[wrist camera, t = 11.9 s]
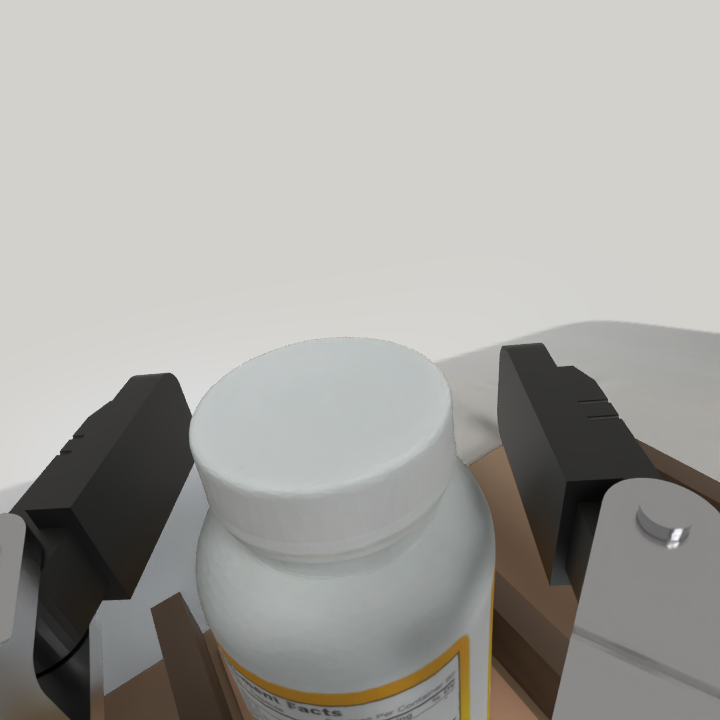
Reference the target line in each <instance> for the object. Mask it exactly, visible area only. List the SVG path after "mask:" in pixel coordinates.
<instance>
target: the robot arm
mask: <svg viewBox="0 0 720 720" xmlns="http://www.w3.org/2000/svg"><path fill="white" fill-rule="evenodd" d="M618 415H619V414H618V413H617V412H616V410H615V409H614V407H613V406H612V404H611V403H608V399H607V397H606V396H605V394H604V393H603V391H602V390H601V388H600V387H599V386H598V384H597V383H596V381H595V380H594V379H592V378H591V377H589V376H588V375H586V374H584V373H583V372H581V371H580V370H578V369H577V368H575V367H574V366H564V367H557V366H556V364H555V362H554V361H553V359H552V357H551V356H550V354H549V352H548V351H547V349H546V347H545V346H544V344H542V343H533V344H521V345H508V346H502V348H501V351H500V361H499V383H498V404H497V416H498V426H499V432H500V436H501V440H502V443H503V446H504V449H505V452H506V455H507V458H508V461H509V464H510V467H511V470H512V473H513V476H514V479H515V482H516V485H517V488H518V491H519V494H520V497H521V500H522V504H523V507H524V510H525V513H526V516H527V519H528V522H529V525H530V528H531V531H532V534H533V537H534V540H535V543H536V546H537V549H538V552H539V555H540V558H541V561H542V564H543V567H544V570H545V573H546V576H547V579H548V582H549V585H550V586H558V585H571V586H572V589H573V591H574V594H575V597H576V599H577V602H578V609H577V613H576V618H575V622H574V626H573V630H572V634H571V638H570V643H569V647H568V651H567V656H566V660H565V664H564V669H563V673H562V677H561V682H560V686H559V690H558V695H557V699H556V703H555V707H554V712H553V716H552V720H720V513H719V512H718V511H717V510H716V509H715V508H714V507H713V506H712V505H711V504H710V503H709V502H707V501H706V500H705V499H703V498H702V497H700V496H699V495H697V494H695V493H694V492H692V491H690V490H688V489H686V488H684V487H681V486H679V485H677V484H674V483H671V482H667V481H664V479H663V478H662V477H661V475H660V474H659V472H658V471H657V469H656V468H655V466H654V465H653V464H652V462H651V461H650V459H649V458H648V456H647V455H646V453H645V452H644V451H643V449H642V448H641V446H640V445H639V443H638V442H637V440H636V439H635V438H634V436H633V435H632V433H631V432H630V430H629V429H628V427H627V426H626V425H625V423H624V422H623V420H622V419H619V416H618ZM191 419H192V415H191V412H190V410H189V407H188V405H187V402H186V399H185V397H184V394H183V392H182V389H181V386H180V384H179V382H178V380H177V378H176V377H175V376H174V375H173V374H171V373H161V374H148V375H136V376H133V377H131V378H130V379H129V380H128V382H127V383H126V384H125V385H124V387H123V388H122V389H121V390H120V392H119V393H118V394H117V396H116V397H115V398H114V399H113V400H112V401H110V402H109V403H107V404H106V405H104V406H103V407H102V408H100V409H99V410H98V411H96V412H95V413H93V414H92V415H91V416H89V417H88V418H87V420H86V421H85V422H84V423H83V424H82V425H81V427H80V428H79V429H78V430H77V431H76V433H75V434H74V435H73V439H72V440H69V441H68V442H67V443H66V445H65V446H64V447H63V448H62V449H61V451H60V455H57V456H56V457H55V458H54V459H53V460H52V461H51V463H50V464H49V465H48V466H47V467H46V469H45V470H44V471H43V472H42V473H41V475H40V476H39V477H38V478H37V479H36V481H35V482H34V483H33V484H32V485H31V487H30V488H29V489H28V490H27V492H26V493H25V494H24V495H23V496H22V498H21V499H20V500H19V501H18V502H17V504H16V505H15V506H14V507H13V508H12V510H11V511H10V512H9V513H4V514H0V720H105V719H104V691H103V663H102V635H101V625H100V623H99V620H98V619H97V618H96V616H95V613H96V611H97V609H98V607H99V606H100V604H101V602H102V600H128V599H131V597H132V595H133V593H134V590H135V588H136V586H137V584H138V582H139V580H140V578H141V575H142V573H143V571H144V569H145V567H146V565H147V563H148V560H149V558H150V556H151V554H152V552H153V550H154V548H155V545H156V543H157V541H158V539H159V537H160V535H161V533H162V530H163V528H164V526H165V524H166V522H167V520H168V518H169V516H170V513H171V511H172V509H173V507H174V505H175V503H176V501H177V498H178V496H179V494H180V492H181V490H182V488H183V486H184V483H185V481H186V479H187V477H188V475H189V473H190V471H191V468H192V466H193V464H194V462H195V461H194V458H193V455H192V452H191V449H190V444H189V429H190V422H191Z"/></svg>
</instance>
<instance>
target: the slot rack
mask: <svg viewBox="0 0 720 720" xmlns="http://www.w3.org/2000/svg"><path fill="white" fill-rule="evenodd" d="M636 440H637V439H636ZM637 442H638V443H639V445H640V446H641V448H642V449H643V451H644V452H645V453H646V455H647V456H648V458H649V459H650V461H651V462H652V464H653V465H654V466H655V468H656V469H657V471H658V472H659V474H660V475H661V477H662V478H663V479H664V481H667V482H671V483H674V484H677V485H679V486H681V487H684V488H686V489H688V490H690V491H692V492H694V493H695V494H697V495H699V496H700V497H702V498H703V499H705V500H706V501H707V502H709V503H710V504H711V505H712V506H713V507H714V508H715V509H716V510H717V511H718V512H719V513H720V482H718V481H716V480H714V479H712V478H710V477H708V476H706V475H704V474H702V473H700V472H699V471H697V470H695V469H693V468H691V467H689V466H687V465H685V464H683V463H681V462H679V461H677V460H676V459H674V458H672V457H670V456H668V455H666V454H664V453H662V452H660V451H658V450H656V449H654V448H653V447H651V446H649V445H647V444H645V443H643V442H641V441H639V440H637ZM468 469H469V470H470V471H471V472H472V474H473V475H474V477H475V478H476V480H477V482H478V483H479V485H480V487H481V489H482V491H483V493H484V495H485V498H486V500H487V503H488V506H489V509H490V512H491V515H492V520H493V525H494V532H495V583H494V603H493V627H492V659H491V692H490V720H552V716H553V712H554V707H555V703H556V699H557V695H558V690H559V686H560V682H561V677H562V673H563V669H564V664H565V660H566V656H567V651H568V647H569V643H570V638H571V634H572V630H573V626H574V622H575V618H576V613H577V609H578V602H577V599H576V597H575V594H574V591H573V589H572V586H571V585H558V586H550V585H549V582H548V579H547V576H546V573H545V570H544V567H543V564H542V561H541V558H540V555H539V552H538V549H537V546H536V543H535V540H534V537H533V534H532V531H531V528H530V525H529V522H528V519H527V516H526V513H525V510H524V507H523V504H522V500H521V497H520V494H519V491H518V488H517V485H516V482H515V479H514V476H513V473H512V470H511V467H510V464H509V461H508V458H507V455H506V452H505V449H504V446H503V445H502V446H500V447H498V448H497V449H495V450H494V451H492V452H490V453H489V454H487V455H486V456H484V457H483V458H481V459H479V460H478V461H476V462H475V463H473V464H471V465H470V466H468ZM151 613H152V616H153V620H154V624H155V628H156V631H157V635H158V639H159V643H160V647H161V650H162V654H163V658H164V659H163V660H161V661H159V662H158V663H156V664H155V665H153V666H151V667H150V668H148V669H147V670H145V671H144V672H142V673H140V674H139V675H137V676H136V677H134V678H132V679H131V680H129V681H128V682H126V683H125V684H123V685H121V686H120V687H118V688H117V689H115V690H113V691H112V692H110V693H109V694H107V695H106V696H104V719H105V720H253V718H252V716H251V714H250V712H249V710H248V708H247V706H246V704H245V702H244V700H243V698H242V695H241V693H240V691H239V689H238V687H237V685H236V683H235V681H234V679H233V676H232V674H231V672H230V670H229V668H228V666H227V664H226V661H225V659H224V657H223V655H222V653H221V651H220V649H219V647H218V645H217V643H216V640H215V638H214V636H213V634H212V631H211V629H210V630H209V631H207V632H205V633H204V634H202V632H201V630H200V628H199V626H198V624H197V623H196V621H195V619H194V617H193V615H192V613H191V612H190V610H189V608H188V606H187V604H186V602H185V601H184V599H183V597H182V595H181V593H180V592H179V593H177V594H175V595H173V596H172V597H170V598H168V599H166V600H165V601H163V602H161V603H160V604H158V605H156V606H154V607H153V608H151Z"/></svg>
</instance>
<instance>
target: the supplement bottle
mask: <svg viewBox="0 0 720 720" xmlns="http://www.w3.org/2000/svg"><path fill="white" fill-rule="evenodd" d="M189 444H190V449H191V452H192V455H193V458H194V461H195V464H196V467H197V470H198V472H199V475H200V478H201V481H202V484H203V486H204V489H205V492H206V496H207V500H208V502H209V505H210V508H209V510H208V513H207V515H206V518H205V520H204V523H203V526H202V529H201V533H200V537H199V541H198V547H197V554H196V581H197V589H198V595H199V599H200V602H201V606H202V609H203V613H204V615H205V618H206V620H207V623H208V625H209V627H210V629H211V631H212V634H213V636H214V638H215V640H216V643H217V645H218V647H219V649H220V651H221V653H222V655H223V657H224V659H225V661H226V664H227V666H228V668H229V670H230V672H231V674H232V676H233V679H234V681H235V683H236V685H237V687H238V689H239V691H240V693H241V695H242V698H243V700H244V702H245V704H246V706H247V708H248V710H249V712H250V714H251V716H252V718H253V720H490V692H491V659H492V627H493V603H494V583H495V532H494V525H493V520H492V515H491V512H490V509H489V506H488V503H487V500H486V498H485V495H484V493H483V491H482V489H481V487H480V485H479V483H478V482H477V480H476V478H475V477H474V475H473V474H472V472H471V471H470V470H469V469H468V467H467V466H466V465H465V464H464V463H463V462H462V461H461V460H460V458H459V457H458V456H456V444H455V438H454V425H453V407H452V397H451V391H450V387H449V384H448V382H447V380H446V378H445V376H444V374H443V373H442V371H441V370H440V369H439V368H438V367H437V366H436V365H435V364H434V363H433V362H432V361H431V360H429V359H428V358H427V357H425V356H423V355H422V354H420V353H418V352H417V351H415V350H413V349H410V348H408V347H405V346H402V345H399V344H396V343H393V342H390V341H384V340H378V339H370V338H354V337H337V338H325V339H316V340H310V341H304V342H301V343H296V344H292V345H288V346H285V347H282V348H279V349H276V350H273V351H271V352H268V353H265V354H263V355H260V356H258V357H256V358H253V359H251V360H249V361H248V362H246V363H244V364H242V365H241V366H239V367H237V368H236V369H234V370H232V371H231V372H229V373H228V374H227V375H225V376H224V377H223V378H222V379H221V380H219V381H218V382H217V383H216V384H215V385H214V386H212V387H211V388H210V390H209V391H208V392H207V393H206V394H205V396H204V397H203V398H202V399H201V401H200V403H199V404H198V406H197V408H196V410H195V412H194V414H193V416H192V419H191V422H190V429H189Z"/></svg>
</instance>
